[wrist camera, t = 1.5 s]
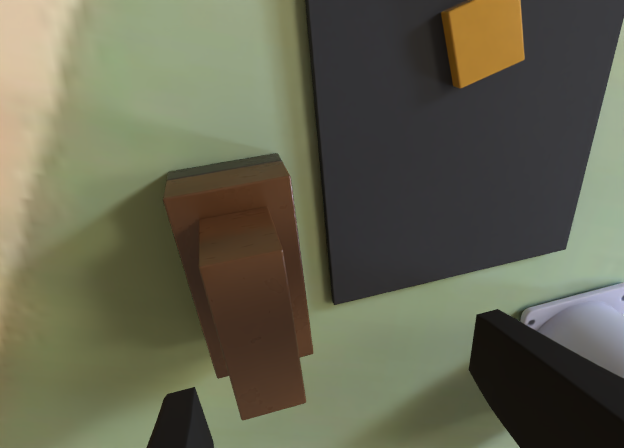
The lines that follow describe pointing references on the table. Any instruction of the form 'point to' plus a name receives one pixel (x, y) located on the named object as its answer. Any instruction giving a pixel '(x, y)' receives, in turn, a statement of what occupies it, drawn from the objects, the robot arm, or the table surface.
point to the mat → (450, 138)
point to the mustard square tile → (482, 38)
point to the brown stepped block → (245, 275)
